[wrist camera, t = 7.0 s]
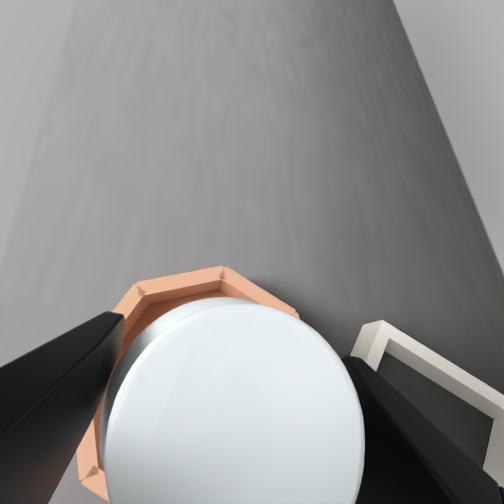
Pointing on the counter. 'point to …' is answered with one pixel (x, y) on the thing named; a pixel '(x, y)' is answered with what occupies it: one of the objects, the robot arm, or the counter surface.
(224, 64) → the counter surface
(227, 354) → the supplement bottle
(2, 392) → the robot arm
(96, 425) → the bowl
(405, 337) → the tray
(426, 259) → the counter surface
